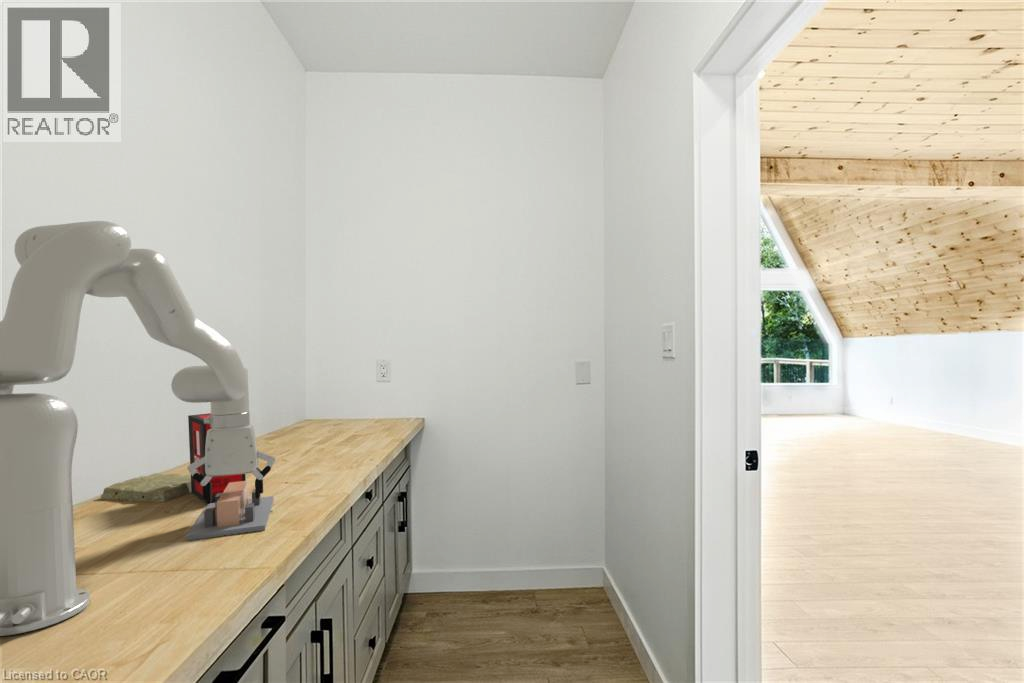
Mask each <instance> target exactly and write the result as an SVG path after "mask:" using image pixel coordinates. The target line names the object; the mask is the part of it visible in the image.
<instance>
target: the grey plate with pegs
mask: <svg viewBox="0 0 1024 683" xmlns="http://www.w3.org/2000/svg"><path fill="white" fill-rule="evenodd" d="M221 495H222V493H217V495H216V496H215V503H210V504H206V505H207V506H206V507H205V508H204V510H203V511H202V513H201V514H200V515H199V517H198V519H197V520H196V521H195V522H194V524H193V525H192V527H191V529H190V530H189V531H188V532H187V534H186V541H193V540H201V539H208V538H209V539H210V538H216V537H224V535H225V536H231V534H233V535H237V534H238V535H239V533H240V534H246V533H245V532H248V533H254V531H256V532H263V531H266V528H267V524H268V522H269V518H270V515H271V510H272V507H273V504H274V496H273V495H272V496H271V495H270V496H260V498H258V499H257V498H256V496H255V488H254V489H252V491H251V498H249V503H248V504H246V506H245V513H244V515H243V517H242V519H241V522H240V524H239V525H232V526H224V527H217V504H216V502H217V501H218V499H219V498H220V496H221Z"/></svg>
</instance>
